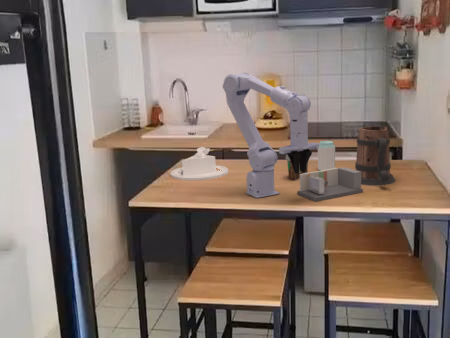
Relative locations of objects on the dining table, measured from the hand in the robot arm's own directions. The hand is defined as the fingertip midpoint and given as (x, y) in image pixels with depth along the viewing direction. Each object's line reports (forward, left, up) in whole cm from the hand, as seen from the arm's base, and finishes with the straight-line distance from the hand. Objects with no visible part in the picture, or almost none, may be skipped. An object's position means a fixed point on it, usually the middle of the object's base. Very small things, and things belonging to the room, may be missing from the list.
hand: (299, 172), depth 172 cm
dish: (-13, +57, -10) cm, 59 cm away
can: (+33, +29, -10) cm, 45 cm away
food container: (+16, +27, -10) cm, 33 cm away
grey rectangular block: (+8, 0, -8) cm, 11 cm away
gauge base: (+13, 0, -9) cm, 16 cm away
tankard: (+36, +3, -10) cm, 37 cm away
